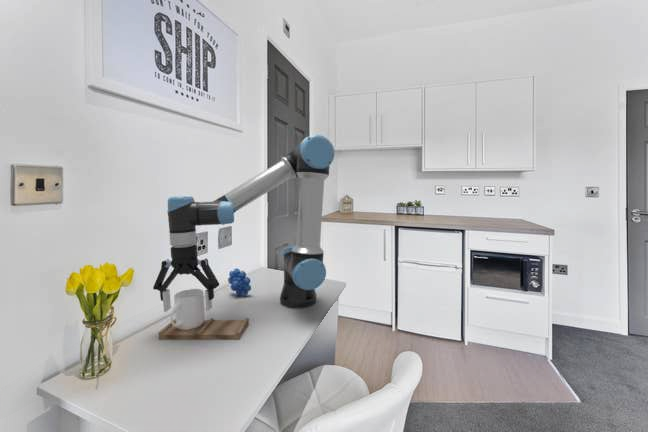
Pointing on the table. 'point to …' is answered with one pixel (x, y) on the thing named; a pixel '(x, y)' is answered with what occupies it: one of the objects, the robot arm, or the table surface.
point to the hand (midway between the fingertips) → (188, 309)
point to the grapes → (239, 282)
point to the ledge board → (207, 330)
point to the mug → (188, 309)
